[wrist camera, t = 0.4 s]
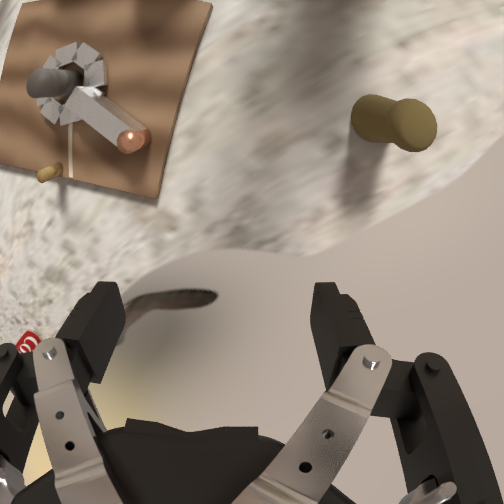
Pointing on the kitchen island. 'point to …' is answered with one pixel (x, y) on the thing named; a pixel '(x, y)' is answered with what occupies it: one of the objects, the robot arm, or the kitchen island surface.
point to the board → (118, 89)
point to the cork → (395, 122)
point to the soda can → (28, 341)
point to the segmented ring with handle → (92, 100)
